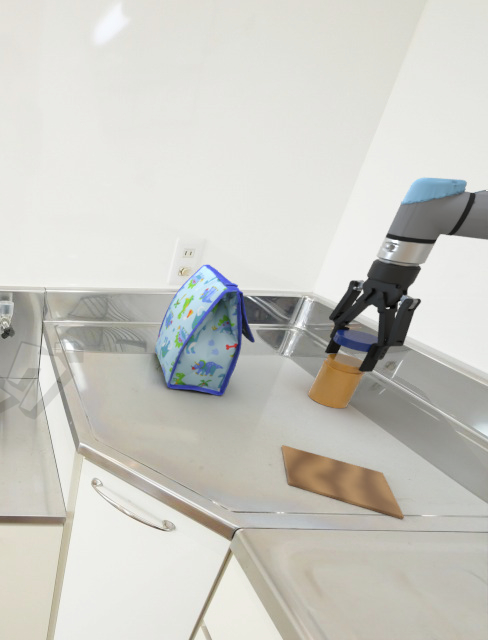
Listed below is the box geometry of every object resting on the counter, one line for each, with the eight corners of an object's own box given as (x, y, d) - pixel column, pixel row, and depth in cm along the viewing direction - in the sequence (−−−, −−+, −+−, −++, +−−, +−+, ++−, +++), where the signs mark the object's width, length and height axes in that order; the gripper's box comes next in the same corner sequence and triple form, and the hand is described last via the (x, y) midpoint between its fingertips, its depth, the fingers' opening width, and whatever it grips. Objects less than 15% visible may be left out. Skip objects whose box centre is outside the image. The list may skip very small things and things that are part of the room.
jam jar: (343, 396, 103) (363, 357, 98) (350, 411, 97) (373, 371, 92) (305, 387, 106) (324, 349, 101) (310, 402, 100) (330, 362, 95)
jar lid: (343, 334, 99) (346, 326, 99) (386, 348, 93) (391, 340, 92) (325, 340, 95) (329, 333, 95) (370, 355, 89) (374, 347, 88)
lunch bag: (236, 399, 99) (279, 292, 87) (163, 390, 101) (195, 284, 89) (208, 358, 118) (240, 265, 106) (148, 351, 120) (171, 259, 108)
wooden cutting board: (381, 475, 78) (382, 472, 77) (402, 519, 68) (404, 516, 68) (281, 447, 84) (282, 444, 83) (288, 484, 74) (289, 482, 74)
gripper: (337, 249, 94) (297, 342, 105) (436, 276, 76) (375, 385, 87) (367, 250, 95) (324, 342, 106) (472, 276, 77) (407, 384, 88)
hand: (347, 361), depth 96 cm, fingers closed on jar lid, 8 cm apart
